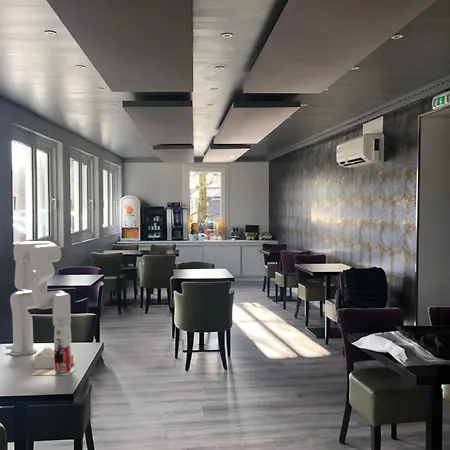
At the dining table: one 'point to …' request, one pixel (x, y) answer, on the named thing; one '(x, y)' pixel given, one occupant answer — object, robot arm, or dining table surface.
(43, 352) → the dome
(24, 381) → the dining table surface
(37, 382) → the dining table surface
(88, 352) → the dining table surface
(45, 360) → the base
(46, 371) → the beige and green board
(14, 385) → the dining table surface
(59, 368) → the soda can
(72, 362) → the die
